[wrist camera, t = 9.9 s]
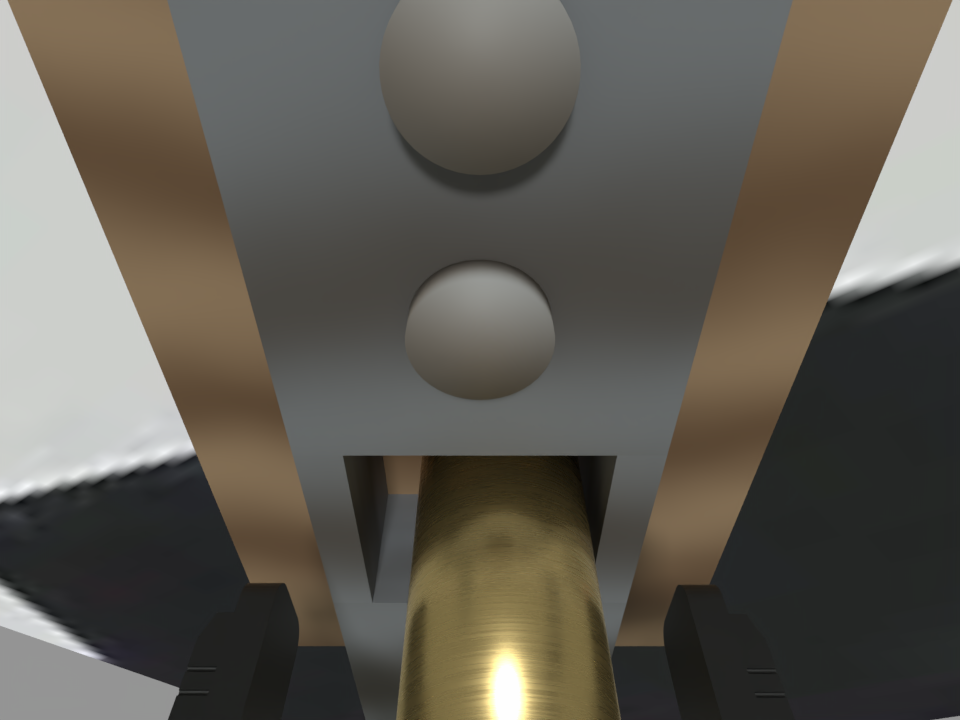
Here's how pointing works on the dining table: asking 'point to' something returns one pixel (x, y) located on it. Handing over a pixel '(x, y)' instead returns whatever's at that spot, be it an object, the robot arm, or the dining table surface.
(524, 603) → the pin
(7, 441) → the dining table surface
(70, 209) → the dining table surface
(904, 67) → the board
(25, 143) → the dining table surface
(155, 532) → the dining table surface
